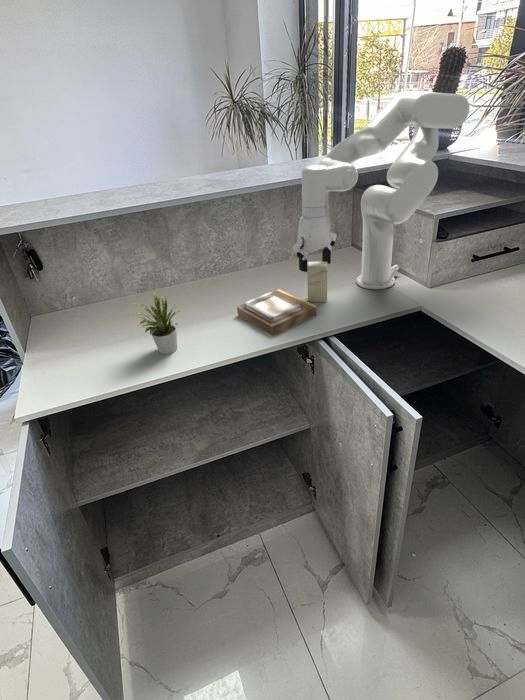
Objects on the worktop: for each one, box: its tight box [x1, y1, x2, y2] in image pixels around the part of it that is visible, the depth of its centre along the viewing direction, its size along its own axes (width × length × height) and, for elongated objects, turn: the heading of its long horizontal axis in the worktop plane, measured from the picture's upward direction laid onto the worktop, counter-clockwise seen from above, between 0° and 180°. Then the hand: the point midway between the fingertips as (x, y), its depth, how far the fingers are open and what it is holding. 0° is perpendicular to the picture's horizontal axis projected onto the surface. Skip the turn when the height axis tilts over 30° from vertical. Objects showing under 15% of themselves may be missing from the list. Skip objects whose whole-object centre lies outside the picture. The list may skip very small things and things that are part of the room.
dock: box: [236, 288, 318, 337], centre depth 134 cm, size 17×18×4 cm
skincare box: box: [307, 261, 329, 303], centre depth 139 cm, size 6×4×12 cm
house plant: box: [131, 291, 181, 355], centre depth 120 cm, size 14×14×16 cm
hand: (315, 266), depth 136 cm, fingers open, 9 cm apart
